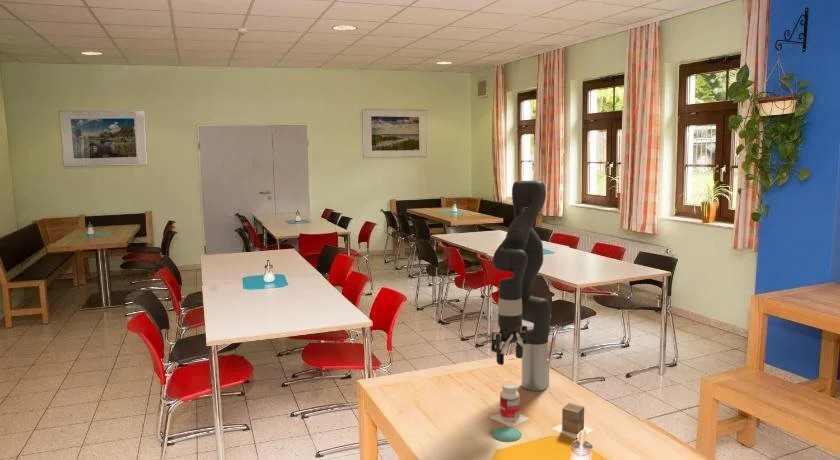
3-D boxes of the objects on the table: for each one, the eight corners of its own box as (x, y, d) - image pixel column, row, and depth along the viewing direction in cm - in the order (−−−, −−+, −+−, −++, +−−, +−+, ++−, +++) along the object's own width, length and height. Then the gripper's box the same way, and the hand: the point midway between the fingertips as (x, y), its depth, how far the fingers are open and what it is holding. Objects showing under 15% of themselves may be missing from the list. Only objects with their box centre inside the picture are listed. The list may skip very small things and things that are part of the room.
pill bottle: (499, 413, 195) (499, 381, 194) (517, 413, 195) (517, 381, 194) (501, 422, 189) (501, 389, 188) (520, 422, 189) (520, 388, 188)
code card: (509, 409, 198) (509, 409, 198) (529, 419, 191) (529, 418, 191) (489, 417, 193) (489, 417, 193) (510, 427, 186) (510, 427, 186)
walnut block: (568, 424, 187) (568, 402, 186) (583, 428, 184) (584, 406, 183) (562, 430, 183) (562, 408, 182) (577, 434, 180) (578, 412, 179)
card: (570, 420, 190) (570, 419, 190) (594, 430, 183) (594, 429, 183) (551, 429, 184) (551, 428, 184) (575, 439, 178) (575, 439, 177)
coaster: (505, 425, 188) (505, 424, 187) (527, 435, 181) (527, 434, 180) (485, 434, 182) (485, 432, 182) (507, 445, 175) (507, 444, 175)
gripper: (516, 305, 195) (516, 353, 197) (485, 313, 186) (485, 363, 188) (534, 309, 189) (533, 359, 191) (502, 318, 180) (502, 369, 182)
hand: (509, 361), depth 190 cm, fingers open, 8 cm apart
